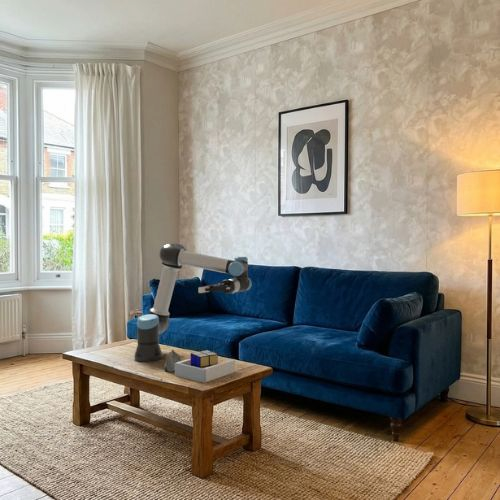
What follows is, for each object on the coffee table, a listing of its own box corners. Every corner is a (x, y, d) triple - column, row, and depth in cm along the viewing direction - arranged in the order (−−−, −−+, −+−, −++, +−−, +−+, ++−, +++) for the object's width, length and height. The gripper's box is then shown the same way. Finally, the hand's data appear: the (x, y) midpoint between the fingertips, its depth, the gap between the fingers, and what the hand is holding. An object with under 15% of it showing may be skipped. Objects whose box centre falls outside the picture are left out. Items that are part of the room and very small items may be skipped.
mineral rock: (177, 364, 257) (177, 345, 257) (190, 368, 250) (190, 348, 249) (157, 369, 248) (157, 349, 247) (170, 373, 240) (170, 353, 240)
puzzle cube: (190, 372, 241) (190, 352, 241) (207, 369, 247) (207, 350, 246) (200, 377, 233) (200, 357, 232) (218, 374, 239) (218, 353, 238)
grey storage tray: (206, 365, 254) (206, 354, 254) (235, 371, 242) (235, 359, 242) (174, 375, 237) (174, 363, 237) (203, 382, 225) (203, 369, 224)
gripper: (239, 293, 262) (208, 298, 244) (221, 292, 270) (190, 296, 252) (239, 279, 262) (208, 283, 243) (220, 278, 270) (190, 282, 251)
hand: (199, 290), depth 247 cm, fingers closed
